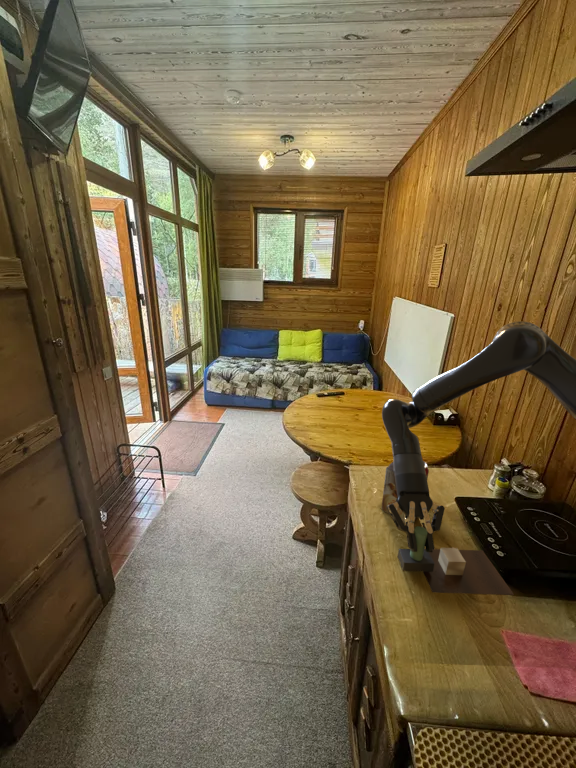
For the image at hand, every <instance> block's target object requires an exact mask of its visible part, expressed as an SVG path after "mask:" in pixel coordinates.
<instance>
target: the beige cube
mask: <svg viewBox="0 0 576 768" xmlns="http://www.w3.org/2000/svg"><path fill="white" fill-rule="evenodd" d="M439 549H440V554H439V558H438V561H439V563H440V565H441V567H442V569H443V571H444V573H445V574H446V575H463V572H464V568H465V564H466V561H465V560H464V558H463V557H462V555H461V553H460V552H459V550H460V549H459V548H458V547H440V548H439Z"/></svg>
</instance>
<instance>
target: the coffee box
mask: <svg viewBox="0 0 576 768" xmlns="http://www.w3.org/2000/svg"><path fill="white" fill-rule="evenodd" d="M383 483H384V484H383V492H382V502H381V510H382V511H383V512H385V513H387V514H388V515H390V513H389V512H388V510H387V506H388V505H390V504H393V503H395V502H396V499H397V490H396V482H395V475H394V467H393V461H392V462H391V463H389V464H388V466H387V467H386V468H385V475H384V481H383ZM398 509H399V511H398V514H399V515H400V517H401V519H402V521H403V523H404V524H405V521H404V516H405V514H404V513H403V511H402V510H401V509H400V508H399V506H398ZM416 518H417V517H415V519H416Z"/></svg>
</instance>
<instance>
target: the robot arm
mask: <svg viewBox="0 0 576 768" xmlns="http://www.w3.org/2000/svg"><path fill="white" fill-rule="evenodd" d="M521 371H525V372H526V373H528V374H529V375H531V376H532V377H534V378H535V379H536V380H537V381H539V383H541V384H542V385H543V386H544V387H545V388H546V389H548V391H549V392H550V393H551V394H552V396H553V397H554V398H555V399H556V401H557V402H558V403H559V404H560V405H561V406H562V407H563V409H565V411H566V412H567V413H568V414H569V415H570V416H571V417H572V418H574V419H575V420H576V358H575V357H573V356H572V355H570V354H569V353H568V352H567V351H565V349H563V348H562V347H561V346H560V345H559V344H558V343H557V342H555V341H554V340H553V338H551V337H550V335H548V334H547V333H546V332H545V331H544V330H543V329H542V328H541V327H539V326H538V325H537V324H535V323H532V322H530V321H524V320H523V321H521V320H520V321H512V322H509V323H506V324H505V325H503V326H501V327H500V328H499V329H498V331H497V332H496V333H495V335H494V337H493V339H492V341H491V342H490V343H489V344H488V345H487V346H486V347H485V348H483V349H482V350H481V351H480V352H478V353H477V354H476V355H474V357H472V358H470V359H469V360H468V361H467V360H466V362H464V363H462V364H460V365H459V366H456V367H454V368H452V369H450V370H448V371H445V372H442V373H441V374H439V375H437V376H434V378H431V379H429V380H428V381H427V382H425V383H424V384H422V385H420V386H419V387H417V388H416V389H415V390H414V391H413V392H412V394H411V400H412V401H410V402H406V401H403V400H401V399H398V398H391V399H387V400H386V401H385V402H384V404H383V406H382V409H381V418H382V422H383V425H384V428H385V431H386V433H387V436H388V438H389V440H390V443H391V452H392V458H393V460H392V462H393V467H394V475H395V482H396V490H397V499H396V502H395V503H393V504H390V505H388V506H387V510H388V512H389V513H390V514H389V515H390V517H391V519H392V521H393V523H394V525H395V527H396V528H397V530H399V531H402V532H404V533H405V535H406V541H407V547H408V549H411V551H412V552H417V544H416V538H415V534H414V528H415V520H416V518H417V519H418V520H419V521H418V522H419V523H420V524H421V527H423V528H425V529H426V530H427V538H426V543H425V548H424V549H426V552H433V550H432V549H435V543H434V542H435V541H434V537H433V534H434V533H435V532H440V530H441V527H442V523H443V522H442V521H443V518H444V514H445V511H446V510H445V506H444V505H439V504H437V503H435V502H434V501H433V499H432V497H431V496H430V489H429V483H428V479H427V476H426V471H425V466H424V462H425V461H424V458H423V455H422V450H421V444H420V439H419V437H418V435H416V434H415V433H414V432H412V430H411V428H412V429H413V428H414V427H416V426H418V425H420V424H421V423H422V422H423V421H424V420H426V419H427V418H428V417H429V416H430V415H431V414H432V413H433V412H435V411H437V410H439V409H440V408H442V407H445V406H447V404H450V403H452V402H453V401H455V400H457V399H459V398H461V397H462V396H464V395H466V394H468V393H470V392H471V391H473V390H476V389H478V388H480V387H482V386H484V385H487V384H489V383H491V382H493V381H496V380H499V379H502V378H504V377H507V376H511V375H513V374H516V373H518V372H521ZM423 461H424V462H423ZM398 506H399V508H400V509H401V510H402V511H403V513H404V514H405V516H404V521H405V523H404V522H403V521H402V519H401V517H400V515H399V514H398V511H399V509H398ZM430 511H432V514H433V516H432V518H430V515H429V513H430ZM415 517H416V518H415ZM431 519H432V520H431Z"/></svg>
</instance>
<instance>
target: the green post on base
mask: <svg viewBox="0 0 576 768" xmlns="http://www.w3.org/2000/svg"><path fill="white" fill-rule="evenodd" d="M413 534H415V538H416V544H417V552H412V551H411V549H409V548H398V552H397V559H398V561H399V564H400V567H401V570H402V571H403V572H423V571H426V572H433V569H434V562H433V560H432V558H431V556H430V554H429V552H426V550H425V543H426V538H427V530H426V529H425V528H423V527H422V525H421V526H420V525H416V526H414V532H413Z"/></svg>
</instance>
